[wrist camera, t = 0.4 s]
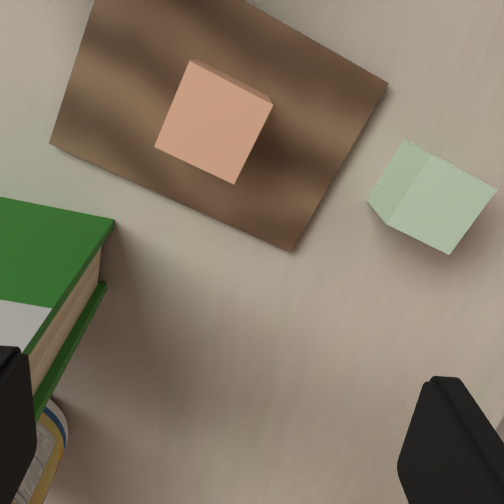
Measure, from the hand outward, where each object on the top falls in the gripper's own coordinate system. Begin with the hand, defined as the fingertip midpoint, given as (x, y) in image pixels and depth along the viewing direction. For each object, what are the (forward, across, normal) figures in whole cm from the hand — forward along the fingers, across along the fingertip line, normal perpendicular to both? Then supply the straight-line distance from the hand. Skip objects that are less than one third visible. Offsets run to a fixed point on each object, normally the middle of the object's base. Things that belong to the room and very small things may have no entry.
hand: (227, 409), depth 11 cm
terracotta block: (+29, +2, -3) cm, 29 cm away
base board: (+30, +2, -3) cm, 30 cm away
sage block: (+30, -16, +1) cm, 34 cm away
